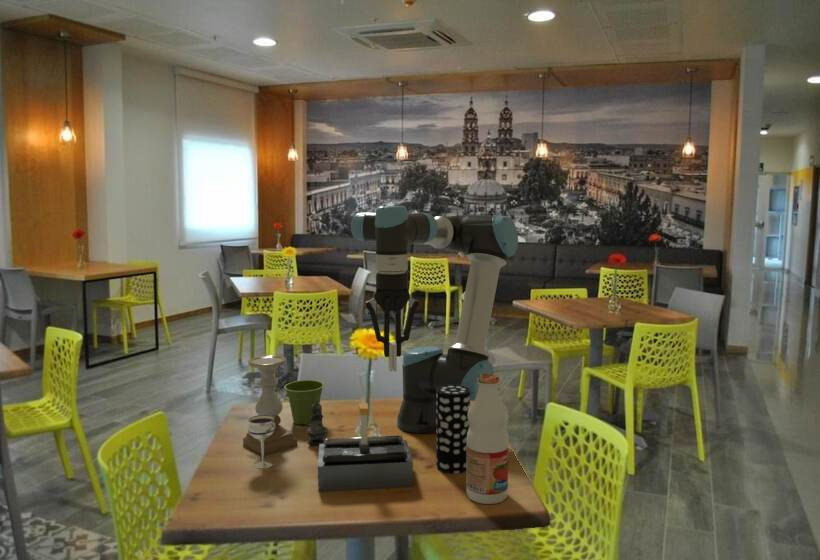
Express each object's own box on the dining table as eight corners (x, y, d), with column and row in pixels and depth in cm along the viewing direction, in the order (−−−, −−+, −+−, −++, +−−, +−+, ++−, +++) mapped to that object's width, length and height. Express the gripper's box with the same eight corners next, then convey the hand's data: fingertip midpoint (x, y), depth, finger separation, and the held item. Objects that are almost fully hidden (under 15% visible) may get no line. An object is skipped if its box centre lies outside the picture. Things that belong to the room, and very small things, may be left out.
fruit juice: (469, 484, 157) (470, 369, 153) (509, 488, 155) (511, 371, 151) (463, 503, 148) (464, 380, 144) (505, 507, 146) (507, 383, 142)
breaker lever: (368, 448, 163) (368, 403, 162) (369, 454, 160) (369, 408, 158) (359, 448, 163) (358, 403, 162) (359, 454, 159) (358, 408, 158)
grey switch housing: (406, 462, 170) (406, 433, 169) (412, 486, 156) (412, 454, 155) (319, 466, 168) (319, 436, 167) (318, 491, 154) (317, 459, 153)
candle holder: (276, 434, 190) (274, 352, 187) (298, 445, 182) (295, 359, 179) (242, 444, 183) (238, 359, 180) (263, 455, 175) (260, 367, 172)
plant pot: (300, 412, 209) (299, 377, 207) (332, 418, 204) (331, 382, 202) (277, 424, 198) (275, 387, 197) (309, 430, 193) (308, 393, 192)
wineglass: (281, 464, 169) (280, 419, 168) (258, 472, 165) (256, 425, 163) (267, 457, 174) (265, 412, 173) (244, 464, 169) (242, 419, 168)
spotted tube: (465, 459, 172) (465, 384, 170) (473, 472, 164) (473, 393, 161) (433, 461, 171) (433, 385, 168) (439, 474, 163) (440, 395, 160)
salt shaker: (302, 444, 183) (301, 401, 182) (314, 437, 188) (313, 395, 187) (319, 447, 180) (318, 404, 179) (332, 440, 186) (331, 398, 184)
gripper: (364, 274, 152) (365, 375, 155) (421, 273, 153) (422, 373, 156) (362, 270, 159) (364, 366, 162) (418, 269, 161) (418, 364, 164)
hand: (392, 369), depth 159 cm, fingers closed
